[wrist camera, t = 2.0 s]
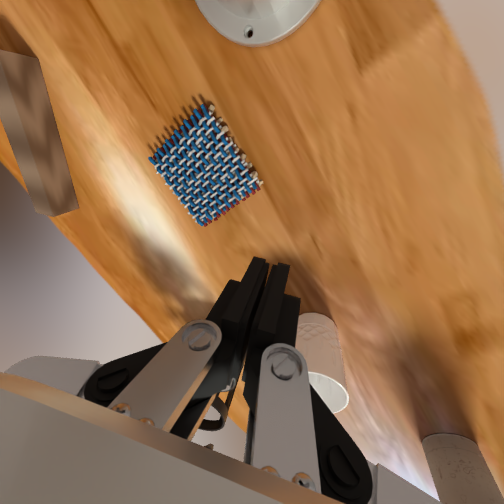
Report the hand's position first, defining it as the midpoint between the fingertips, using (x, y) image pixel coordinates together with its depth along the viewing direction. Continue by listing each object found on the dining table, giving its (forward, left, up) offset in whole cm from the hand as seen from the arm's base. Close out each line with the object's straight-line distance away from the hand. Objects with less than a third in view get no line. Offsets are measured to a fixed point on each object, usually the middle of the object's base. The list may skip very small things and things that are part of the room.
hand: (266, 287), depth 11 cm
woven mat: (0, -11, -19) cm, 22 cm away
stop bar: (0, -34, -18) cm, 38 cm away
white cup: (+20, +7, -18) cm, 28 cm away
